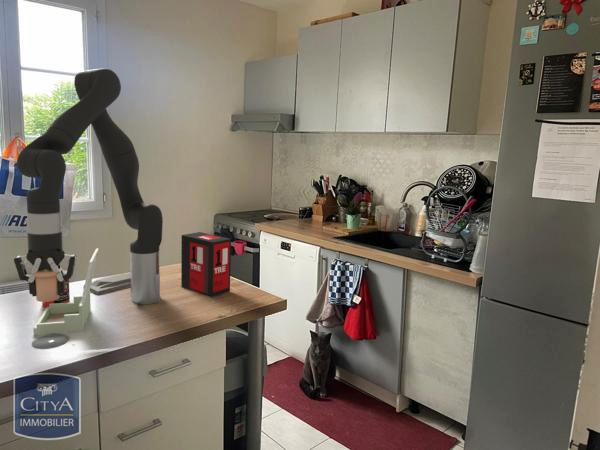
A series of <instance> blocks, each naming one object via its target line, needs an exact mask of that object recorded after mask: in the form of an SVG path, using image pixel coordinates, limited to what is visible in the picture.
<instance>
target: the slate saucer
mask: <svg viewBox="0 0 600 450" xmlns="http://www.w3.org/2000/svg"><path fill="white" fill-rule="evenodd" d="M69 340H70V337H69V336H68V335H67V334H65V333H55V334H44V335H42V336H39V337H37V338H35V339H34V340H33V341H32V342H31V346H32V347H34V348H35V349H41V350H44V349H46V350H47V349H53V348H57V347H58V348H59V347H60V346H63V345H65V344H66V343H68V342H69Z"/></svg>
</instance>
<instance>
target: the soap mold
mask: <svg viewBox="0 0 600 450" xmlns="http://www.w3.org/2000/svg"><path fill="white" fill-rule="evenodd" d="M84 286H85V284H84V285H83V290H84ZM127 288H131V273H123V274H119V275H115V276H110V277H105V278H102V279H101V278H100V279H97V280H94V281H92V283H91V287H90V293H93V294H95V295H96V296H101V295H104V294H107V293H111V292H116V291H119V290H125V289H127Z"/></svg>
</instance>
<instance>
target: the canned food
mask: <svg viewBox="0 0 600 450" xmlns="http://www.w3.org/2000/svg"><path fill="white" fill-rule="evenodd" d="M62 270H63V272H64V274H66V273H67V270H66V269H62ZM59 296H60V298H59V299H57V300H54V301H49V302H41V305H42V306H43V308H45V309H46V308H47V307H49V304H55V303H71V302H70V301H71V299H70V298H71V297H70V296H71V295H70V279H66V280H65V291H64V293H62V295H59Z"/></svg>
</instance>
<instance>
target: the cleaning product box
mask: <svg viewBox="0 0 600 450" xmlns="http://www.w3.org/2000/svg"><path fill="white" fill-rule="evenodd" d="M180 255H181V262H180V263H181V267H180V268H181V271H180V272H181V284H180V286H181V287H180V288H182V289H185V290H188V291H192V292H195V293H198V294H199V295H204V296H206V297H209V298H216V297H218V296H222V295H223V294H226V293H230V292H231V267H232V266H231V259H232V258H231V256H232V238H229V237H225V236H220V235H217V234H211V233H206V232H202V231H198V232H192V233H187V234H185V233H184V234H181V254H180ZM229 291H230V292H229Z"/></svg>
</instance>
